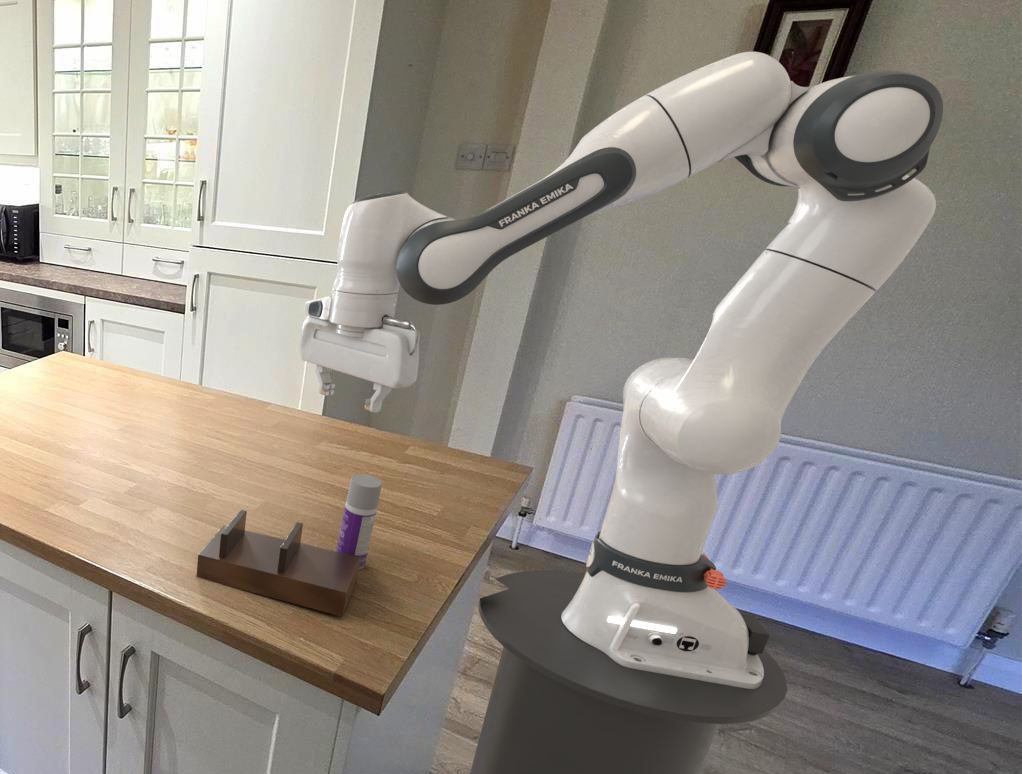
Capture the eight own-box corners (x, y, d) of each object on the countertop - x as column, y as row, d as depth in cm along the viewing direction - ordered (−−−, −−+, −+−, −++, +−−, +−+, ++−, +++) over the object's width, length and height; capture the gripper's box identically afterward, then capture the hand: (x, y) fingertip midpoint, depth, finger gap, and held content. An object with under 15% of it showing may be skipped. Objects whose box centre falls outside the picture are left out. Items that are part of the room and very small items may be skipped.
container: (328, 557, 121) (343, 476, 114) (350, 551, 123) (367, 471, 116) (348, 572, 117) (365, 489, 111) (371, 566, 119) (389, 484, 112)
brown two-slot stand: (356, 579, 115) (364, 533, 112) (342, 616, 105) (350, 567, 102) (221, 546, 125) (225, 503, 122) (196, 577, 116) (199, 531, 113)
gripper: (438, 321, 99) (420, 419, 104) (329, 299, 116) (317, 384, 121) (403, 324, 96) (386, 425, 101) (297, 301, 114) (287, 388, 119)
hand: (348, 402), depth 111 cm, fingers open, 8 cm apart
